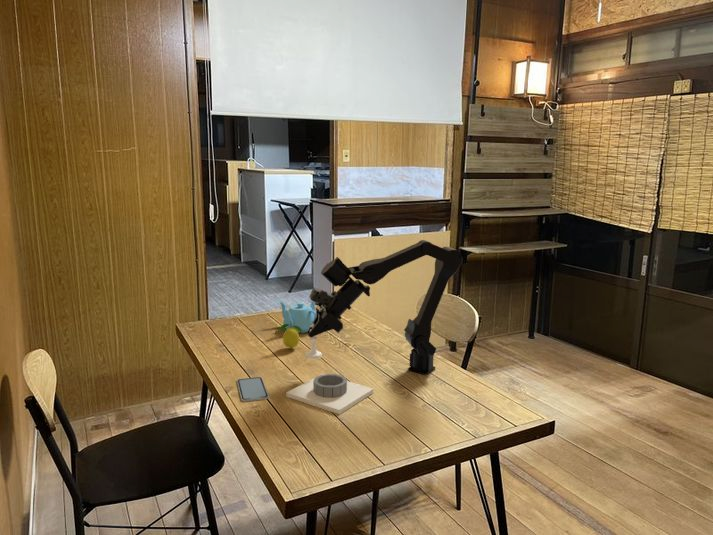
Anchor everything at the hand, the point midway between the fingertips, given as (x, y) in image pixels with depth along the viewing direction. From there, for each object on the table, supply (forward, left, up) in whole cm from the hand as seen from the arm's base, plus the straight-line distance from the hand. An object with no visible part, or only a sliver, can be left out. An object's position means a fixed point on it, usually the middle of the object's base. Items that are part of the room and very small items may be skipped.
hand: (308, 335), depth 156 cm
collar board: (-12, +6, -13) cm, 19 cm away
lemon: (+21, -15, -13) cm, 29 cm away
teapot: (+34, -34, -13) cm, 50 cm away
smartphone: (+8, +16, -14) cm, 22 cm away
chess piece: (-1, -1, -7) cm, 7 cm away
